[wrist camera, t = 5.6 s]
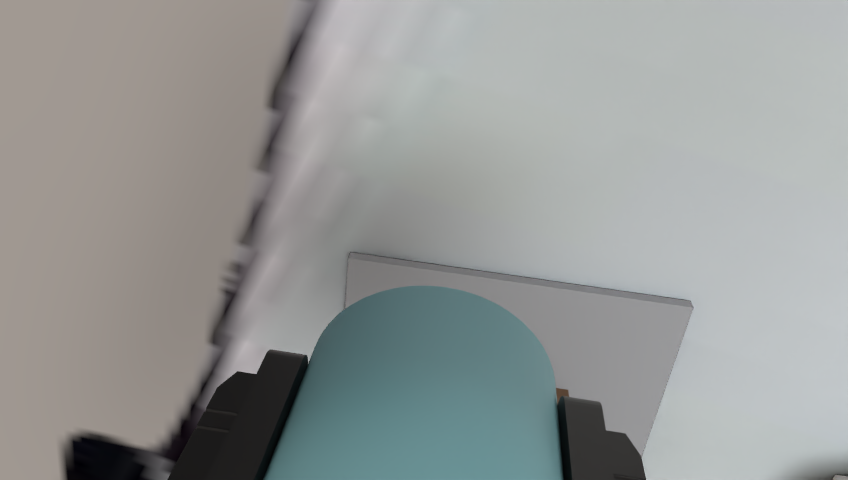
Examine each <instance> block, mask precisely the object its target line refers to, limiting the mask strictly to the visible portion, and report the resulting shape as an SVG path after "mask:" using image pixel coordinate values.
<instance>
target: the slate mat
mask: <svg viewBox="0 0 848 480" xmlns="http://www.w3.org/2000/svg"><path fill="white" fill-rule="evenodd" d="M406 286H439V287H448V288H453V289H458V290H462V291H466V292H469V293H472V294H475V295H478V296H481V297H483V298H485V299H487V300H490V301H492V302H494V303H496V304H498V305H499V306H501V307H503V308H504V309H506V310H508V311H509V312H511V313H512V314H513V315H514V316H516V317H517V318H518V319H519V320H521V321H522V322H523V323H524V324H525V325H526V326H527V327H528V328H529V329H530V330H531V331H532V332H533V333H534V335H535V336H536V337H537V339H538V340H539V341H540V343H541V344H542V346H543V347H544V349H545V351H546V353H547V355H548V357H549V359H550V362H551V365H552V368H553V371H554V377H555V383H556V388H560V389H567V390H568V392H569V397H573V398H579V399H586V400H592V401H599V402H600V403H601V405H602V409H603V415H604V421H605V427H606V430H607V431H614V432H620V433H626V435H627V436H628V438H629V439H630V441H631V442H632V444H633V445H634V446H635V448H636V449H637V451H638V452H639V454H640V455H641V457H642V454H643V451H644V449H645V446H646V443H647V440H648V437H649V434H650V431H651V428H652V425H653V423H654V420H655V417H656V414H657V411H658V408H659V405H660V402H661V400H662V397H663V394H664V391H665V388H666V385H667V382H668V379H669V376H670V374H671V371H672V368H673V365H674V362H675V359H676V356H677V353H678V351H679V348H680V345H681V342H682V339H683V336H684V333H685V330H686V327H687V325H688V322H689V319H690V316H691V313H692V310H693V306H692V303H691V301H687V300H680V299H673V298H666V297H659V296H652V295H645V294H638V293H631V292H624V291H617V290H610V289H603V288H596V287H589V286H582V285H575V284H568V283H561V282H555V281H548V280H541V279H534V278H527V277H520V276H513V275H506V274H499V273H492V272H485V271H478V270H471V269H464V268H457V267H450V266H443V265H436V264H429V263H422V262H415V261H408V260H401V259H394V258H387V257H380V256H373V255H366V254H359V253H352V252H350V255H349V258H348V269H347V284H346V299H345V309H346V308H347V307H349V306H350V305H352V304H354V303H355V302H357V301H359V300H361V299H363V298H365V297H367V296H370V295H372V294H375V293H378V292H381V291H385V290H389V289H393V288H398V287H406Z"/></svg>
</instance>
